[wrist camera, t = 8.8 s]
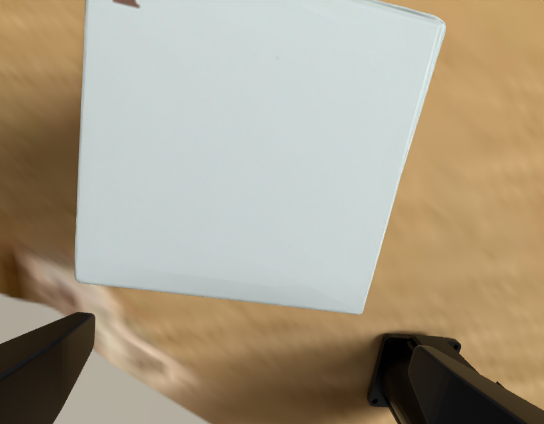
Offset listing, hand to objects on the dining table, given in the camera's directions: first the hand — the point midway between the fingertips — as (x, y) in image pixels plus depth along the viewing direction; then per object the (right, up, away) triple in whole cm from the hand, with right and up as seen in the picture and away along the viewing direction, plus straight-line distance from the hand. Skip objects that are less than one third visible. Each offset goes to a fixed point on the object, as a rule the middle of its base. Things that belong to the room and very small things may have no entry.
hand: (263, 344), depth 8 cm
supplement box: (-2, +8, +10) cm, 13 cm away
